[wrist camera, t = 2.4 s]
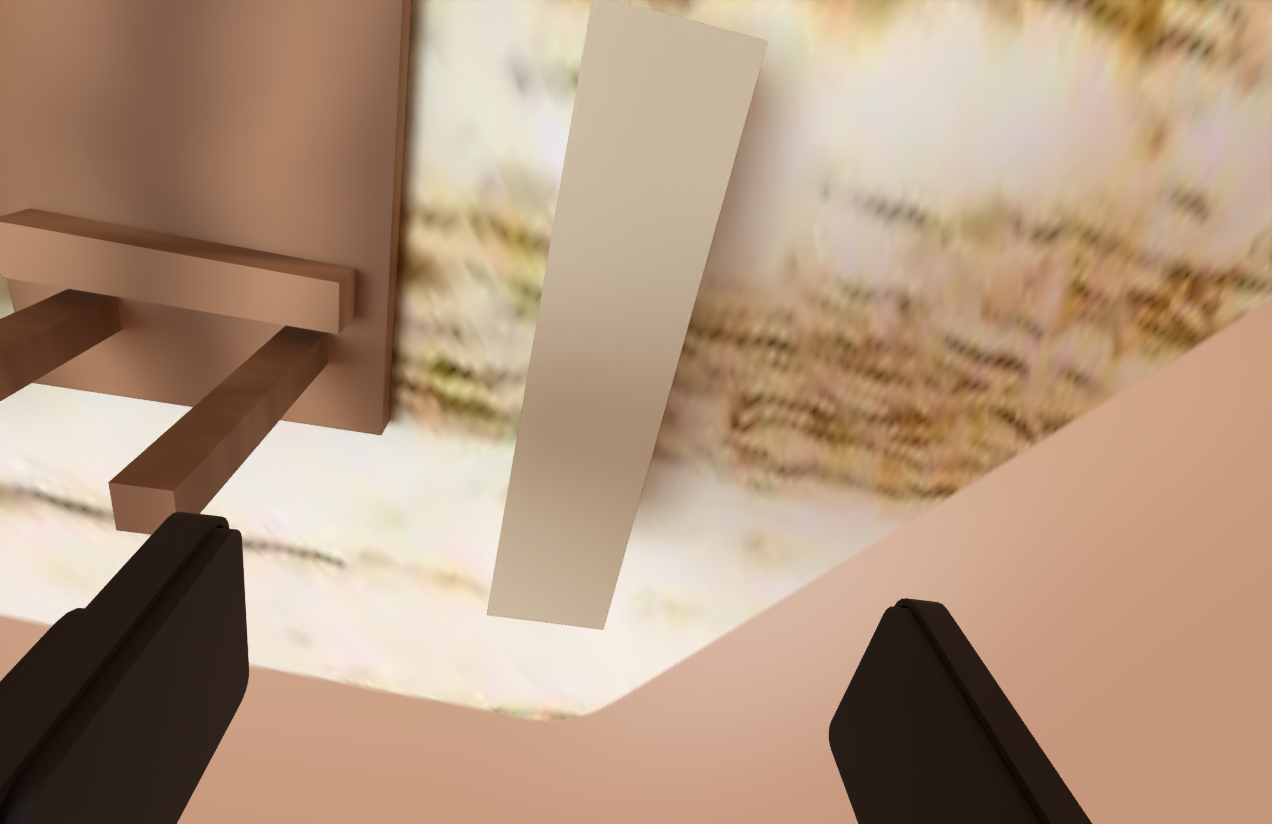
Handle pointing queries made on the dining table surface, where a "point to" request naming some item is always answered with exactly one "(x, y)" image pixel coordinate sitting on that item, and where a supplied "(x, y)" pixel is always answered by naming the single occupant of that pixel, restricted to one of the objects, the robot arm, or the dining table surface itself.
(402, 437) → the dining table surface
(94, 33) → the rack
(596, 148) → the cream rectangular block
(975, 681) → the robot arm
